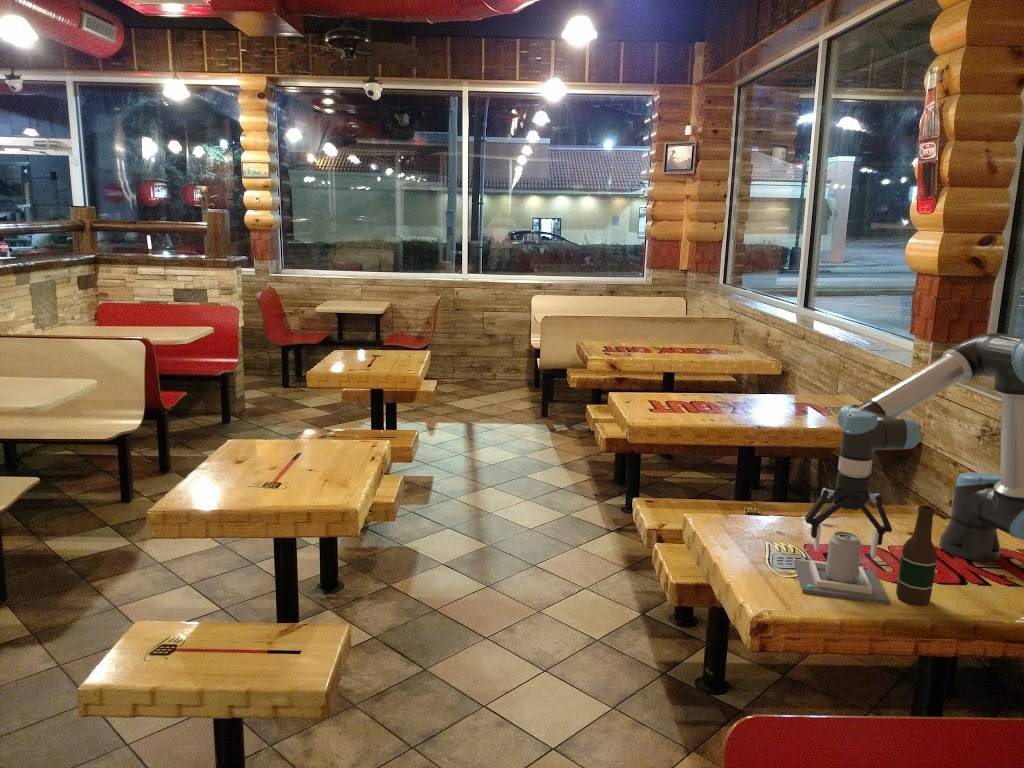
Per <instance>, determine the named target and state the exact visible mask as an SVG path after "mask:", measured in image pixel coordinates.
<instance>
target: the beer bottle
mask: <svg viewBox="0 0 1024 768" xmlns="http://www.w3.org/2000/svg"><path fill="white" fill-rule="evenodd" d="M917 511H918V514H917V517H916V523H915V527H914V530H913V533H912V535H911V536H910V537H909V538H908V539H907V540H906V541H905V543H904V545H903V546H902V550H901V556H900V562H899V568H898V574H897V583H896V589H895V590H896V591H895V593H896V594H895V595H896V596H897V599H898V600H899V601H901V602H903V603H905V604H907V605H911V606H917V607H923V606H927V604H928V605H929V604H930V602H931V598H932V591H933V585H934V580H935V575H936V574H935V573H936V567H937V560H938V559H937V557H938V554H937V550H936V547H935V545H934V544H933V541H932V539H933V538H932V532H933V521H934V515H935V514H936V511H935V509H934V507H932V506H929V505H920V506H918V507H917Z"/></svg>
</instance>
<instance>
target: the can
mask: <svg viewBox="0 0 1024 768" xmlns="http://www.w3.org/2000/svg"><path fill="white" fill-rule="evenodd" d="M860 540H861V538H860V536H859V535H858V534H855V533H852V532H849V531H842V530H841V531H834V532H833V535H832V536H831V537H830V538H829V542H828V551H827V557H826V558H827V559H826V562H827V564H826V572H825V573H826V575H827V576H828V578H829V579H830V580H832V581H833V582H840V583H847V584H851V583H853V582H855V581H856V580H857V575H858V568H859V567H860V560H861V554H862V545H863V544H862V542H861V541H860Z"/></svg>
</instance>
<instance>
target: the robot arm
mask: <svg viewBox="0 0 1024 768" xmlns="http://www.w3.org/2000/svg"><path fill="white" fill-rule="evenodd" d="M976 377H990V378H993V379H994V391H995V393H997V394H998V395H999V396H1001V400H1000V407H1001V411H1000V416H1001V417H1000V474H994V473H987V472H973V471H972V472H971V471H969V472H962V473H960V474H959V475H958V477H957V479H956V484H955V486H954V492H953V494H954V495H953V500H952V507H951V508H952V509H951V515H950V520H949V521H948V523H947V525H946V527H945V529H944V530H943V532H942V534H941V535H940V539H939V547H940V548H941V549H942V550H943V551H945V552H946V553H948V554H951V555H953V556H956V557H957V558H958V557H959V558H962V559H965V560H966V559H967V560H971V561H976V562H977V561H978V562H995V561H998V560H999V559H1000V557H1001V545H1000V540H999V535H998V530H1000V531H1002V532H1004V533H1006V534H1009V535H1011V537H1013V538H1015V539H1016V538H1018V539H1019V540H1023V541H1024V337H1023V336H1017V335H1010V334H1005V333H1000V332H991V333H985V334H979V335H977V336H973V337H971V338H969V339H966V340H963V341H962V342H960V343H958V344H956V345H954V346H952V347H950V348H949V349H947V350H946V351H944V352H943V353H942V356H941V357H940V358H939V359H937V360H936V361H933V362H932V363H930V364H928V365H927V366H925V367H924V368H922V369H920V370H919V371H917V372H915V373H913V374H912V375H909V376H908V377H906V378H905V379H903V380H901V381H899V382H898V383H895V384H894V385H892V386H891V387H889V388H887V389H885V390H884V391H882V392H881V393H878V394H877V395H875V396H874V397H872V398H870V399H868V400H866V401H864V402H862V403H861V404H859V405H858V404H855V403H848V404H846V405H844V406H842V407H841V408H840V409H839V411H838V414H837V424H838V425H839V427H840V428H841V440H840V449H839V458H838V465H837V466H838V467H837V469H838V472H837V475H836V481H835V488H834V490H831V489H827V487H822V488H821V490H820V495H819V496H818V498H817V499H816V501H815V502H814V504H813V505H812V506H811V508H810V509H809V511H808V512H807V513H806V514H805V517H804V520H805V522H806V524H809V525H811V527H810V528H811V529H810V535H811V538H812V539H814V540H813V549H814V552H817V553H818V552H819V548H820V541H821V540H820V539H821V538H820V537H821V533H822V532H821V531H822V527H821V524H822V523H823V522H824V521H825V520H827V519H828V518H829V517H831V515H833V514H834V513H835V512H836V511H839V510H840V509H841V508H842V509H843V510H852V511H858V510H861V511H862V512H863V513H864V515H865V517H866V518H867V519H868V521H869V522H870V523H871V524H872V525H873V526H874V528H875V529H873V530H872V538H871V546H870V551H869V554H870V556H871V558H872V559H877V551H878V546H882V544H883V540H884V539H883V537H884V535H885V533H891V532H893V531H892V530H893V529H892V526H891V524H890V521H889V518H888V517H887V513H886V510H885V509H884V506H883V497H882V496H881V494H880V493H879V492H875V493H869V488H870V483H871V482H870V481H871V477H870V475H871V474H872V466H873V465H872V464H873V459H874V458H873V457H874V452H875V451H886V450H889V451H890V450H907V449H913V448H915V447H916V446H917V445H918V444H919V443H920V440H921V433H922V432H921V428H920V425H919V424H918V423H917V422H916V421H915V420H913V419H912V418H903V417H901V418H898V417H900V416H902V415H903V414H905V413H907V412H908V411H910V410H912V409H914V408H916V407H917V406H919V405H921V404H922V403H924V402H926V401H927V400H929V399H931V398H933V397H935V396H936V395H938V394H940V393H942V392H943V391H945V390H946V389H948V388H950V387H951V386H953V385H955V384H957V383H959V382H967V381H970V380H972V379H973V378H976ZM832 496H833V498H834V500H833V501H832V502H831V503H830V504H829V505H828V506H827V507H825V508H824V509H823V510H822V511H821V512H820V510H821V509H822V507H823V506H824V505H825V503H826V502H827V500H828V499H831V497H832ZM869 500H871V502H872V503H873V504H875V507H876V509H877V512H878V514H879V517H880V519H881V521H882V524H883V525H881V524H880V522H879V521H878V520H877V519H876V518H875V516H874V515H873V514H872V512H871V511H870V510H869V509H868V507H867V506H866V504H867V502H869ZM819 512H820V513H819Z"/></svg>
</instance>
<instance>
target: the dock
mask: <svg viewBox="0 0 1024 768" xmlns="http://www.w3.org/2000/svg"><path fill="white" fill-rule="evenodd" d="M794 564H795V566H794V568H796V569H795V573H796V575H797V576H796V577H797V579H798V582H799V586H800V589H801V593H802V594H810V595H817V596H823V597H824V596H825V597H830V596H831V597H830V598H837V597H838V599H839V598H840V599H846V600H852V601H861V602H866V601H870V602H869V603H874V602H877V603H876V604H881V603H883V605H888V604H889V605H890V602H891V600H890V598H889V597H888V595H887V593H886V590H885V589H884V587H883V585H882V584H881V581H880V579H879V577H878V576H877V574H876V572H875V570H874V569H866V568H863V566H859V568H858V575H857V580H856V581H855V582H853V583H851V584H847V583H840V582H833V581H832V580H830V579H829V578H828V576H827V575H826V573H825V572H826V564H827V561H826V562H825V561H818V560H812V559H811V560H809V561H805V560H799V559H798V560H797V559H794V560H793V565H794Z"/></svg>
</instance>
